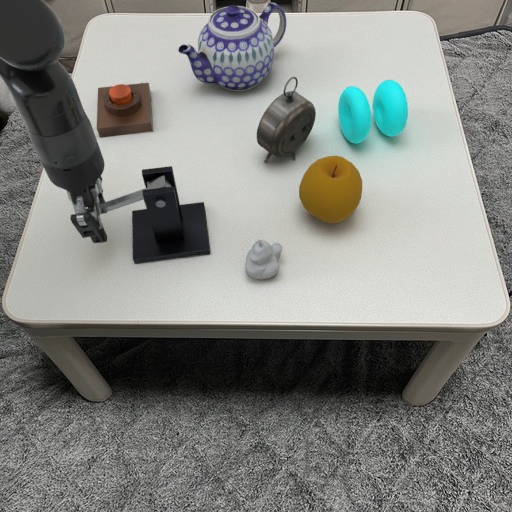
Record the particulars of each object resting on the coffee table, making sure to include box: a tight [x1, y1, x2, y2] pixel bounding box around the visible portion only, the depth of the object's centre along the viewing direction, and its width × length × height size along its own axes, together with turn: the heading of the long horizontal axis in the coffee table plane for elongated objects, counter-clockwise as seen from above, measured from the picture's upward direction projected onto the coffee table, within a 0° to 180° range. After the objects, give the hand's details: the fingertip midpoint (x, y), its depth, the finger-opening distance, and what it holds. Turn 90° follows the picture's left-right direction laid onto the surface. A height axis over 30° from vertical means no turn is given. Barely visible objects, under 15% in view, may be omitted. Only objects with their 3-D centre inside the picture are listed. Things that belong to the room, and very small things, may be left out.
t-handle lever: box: [87, 176, 172, 221], centre depth 76 cm, size 13×5×2 cm, turn 99°
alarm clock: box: [256, 76, 317, 164], centre depth 87 cm, size 11×5×16 cm, turn 135°
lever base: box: [131, 165, 211, 265], centre depth 79 cm, size 12×10×13 cm
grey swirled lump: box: [245, 239, 283, 280], centre depth 77 cm, size 5×7×8 cm
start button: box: [109, 83, 132, 105], centre depth 97 cm, size 4×4×2 cm
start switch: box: [96, 82, 154, 138], centre depth 99 cm, size 10×12×4 cm
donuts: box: [337, 79, 409, 144], centre depth 93 cm, size 10×10×10 cm
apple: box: [298, 155, 363, 224], centre depth 81 cm, size 10×10×12 cm
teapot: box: [177, 2, 287, 92], centre depth 101 cm, size 25×15×15 cm, turn 125°
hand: (100, 226), depth 80 cm, fingers closed on t-handle lever, 5 cm apart
